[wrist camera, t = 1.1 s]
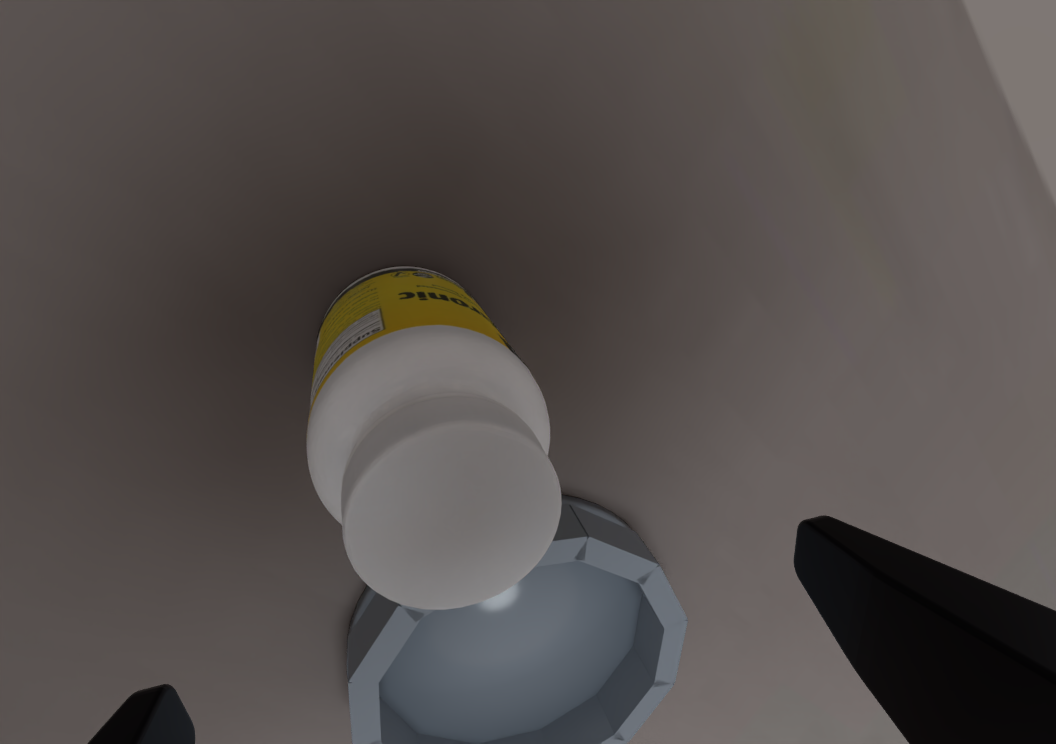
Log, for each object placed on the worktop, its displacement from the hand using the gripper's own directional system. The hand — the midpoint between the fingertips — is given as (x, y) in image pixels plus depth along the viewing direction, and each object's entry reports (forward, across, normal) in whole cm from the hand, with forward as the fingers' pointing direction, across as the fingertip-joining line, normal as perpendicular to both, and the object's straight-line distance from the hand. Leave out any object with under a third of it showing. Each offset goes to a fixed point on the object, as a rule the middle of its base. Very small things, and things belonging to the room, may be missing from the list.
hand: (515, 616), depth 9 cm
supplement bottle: (+12, +1, 0) cm, 13 cm away
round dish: (+12, -1, +14) cm, 18 cm away
